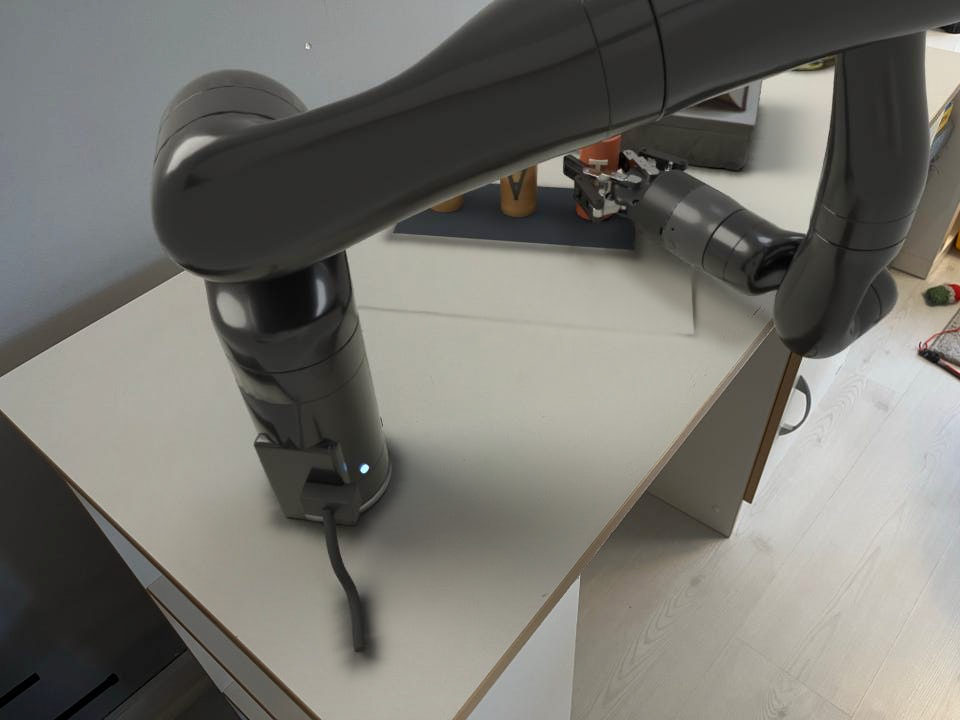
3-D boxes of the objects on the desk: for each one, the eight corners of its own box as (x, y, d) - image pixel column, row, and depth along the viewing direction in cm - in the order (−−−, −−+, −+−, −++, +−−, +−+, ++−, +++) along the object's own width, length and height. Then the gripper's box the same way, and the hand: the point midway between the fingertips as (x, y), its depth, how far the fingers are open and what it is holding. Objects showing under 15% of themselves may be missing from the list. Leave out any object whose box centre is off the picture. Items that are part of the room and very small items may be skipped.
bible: (732, 191, 89) (750, 115, 82) (537, 143, 99) (538, 73, 92) (778, 111, 102) (798, 41, 95) (603, 77, 113) (609, 11, 106)
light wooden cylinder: (534, 219, 85) (535, 141, 78) (497, 216, 85) (495, 139, 78) (538, 198, 88) (540, 122, 81) (503, 196, 89) (502, 120, 82)
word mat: (633, 254, 80) (634, 249, 80) (393, 236, 84) (392, 232, 84) (636, 196, 89) (636, 191, 88) (416, 182, 93) (416, 178, 92)
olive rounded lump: (798, 39, 122) (764, 69, 114) (803, 10, 119) (768, 39, 111) (856, 44, 118) (825, 76, 109) (863, 14, 114) (831, 44, 106)
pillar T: (612, 222, 83) (620, 143, 76) (574, 220, 84) (579, 141, 77) (614, 201, 86) (622, 123, 79) (577, 199, 87) (582, 121, 80)
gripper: (748, 165, 73) (630, 106, 83) (646, 214, 67) (533, 145, 77) (733, 226, 78) (624, 164, 88) (637, 277, 72) (532, 204, 83)
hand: (582, 155), depth 83 cm, fingers closed on pillar T, 4 cm apart
